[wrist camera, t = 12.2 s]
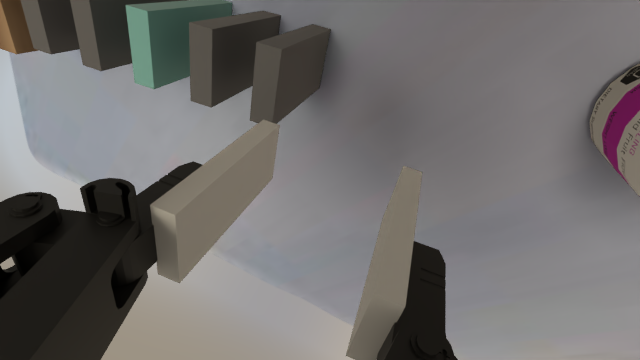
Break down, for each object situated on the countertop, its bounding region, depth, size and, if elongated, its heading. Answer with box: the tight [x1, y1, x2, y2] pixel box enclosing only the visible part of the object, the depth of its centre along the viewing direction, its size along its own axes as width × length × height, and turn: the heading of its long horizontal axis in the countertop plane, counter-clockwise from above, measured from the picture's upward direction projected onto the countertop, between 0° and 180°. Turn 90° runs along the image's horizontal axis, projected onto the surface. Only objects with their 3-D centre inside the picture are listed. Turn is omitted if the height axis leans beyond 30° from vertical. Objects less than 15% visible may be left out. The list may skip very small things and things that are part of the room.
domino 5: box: [250, 24, 331, 124], centre depth 25 cm, size 2×5×10 cm, turn 168°
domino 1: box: [21, 0, 80, 54], centre depth 28 cm, size 2×5×10 cm, turn 168°
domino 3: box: [126, 0, 232, 89], centre depth 26 cm, size 2×5×10 cm, turn 168°
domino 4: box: [189, 11, 281, 107], centre depth 26 cm, size 2×5×10 cm, turn 168°
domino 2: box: [70, 0, 186, 71], centre depth 27 cm, size 2×5×10 cm, turn 168°
